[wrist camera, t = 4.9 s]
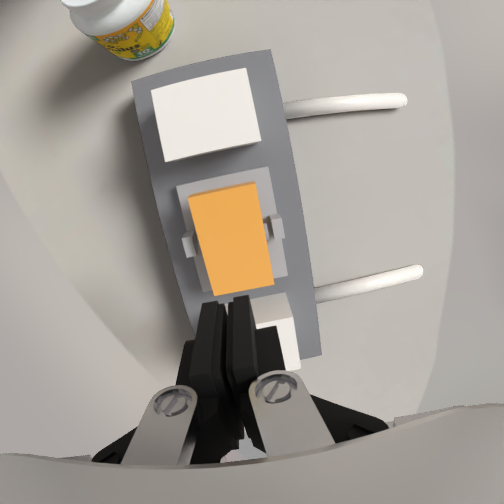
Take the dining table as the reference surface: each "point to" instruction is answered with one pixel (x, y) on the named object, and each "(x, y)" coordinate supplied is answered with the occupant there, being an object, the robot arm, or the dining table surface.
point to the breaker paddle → (232, 238)
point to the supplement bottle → (125, 25)
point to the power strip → (241, 171)
